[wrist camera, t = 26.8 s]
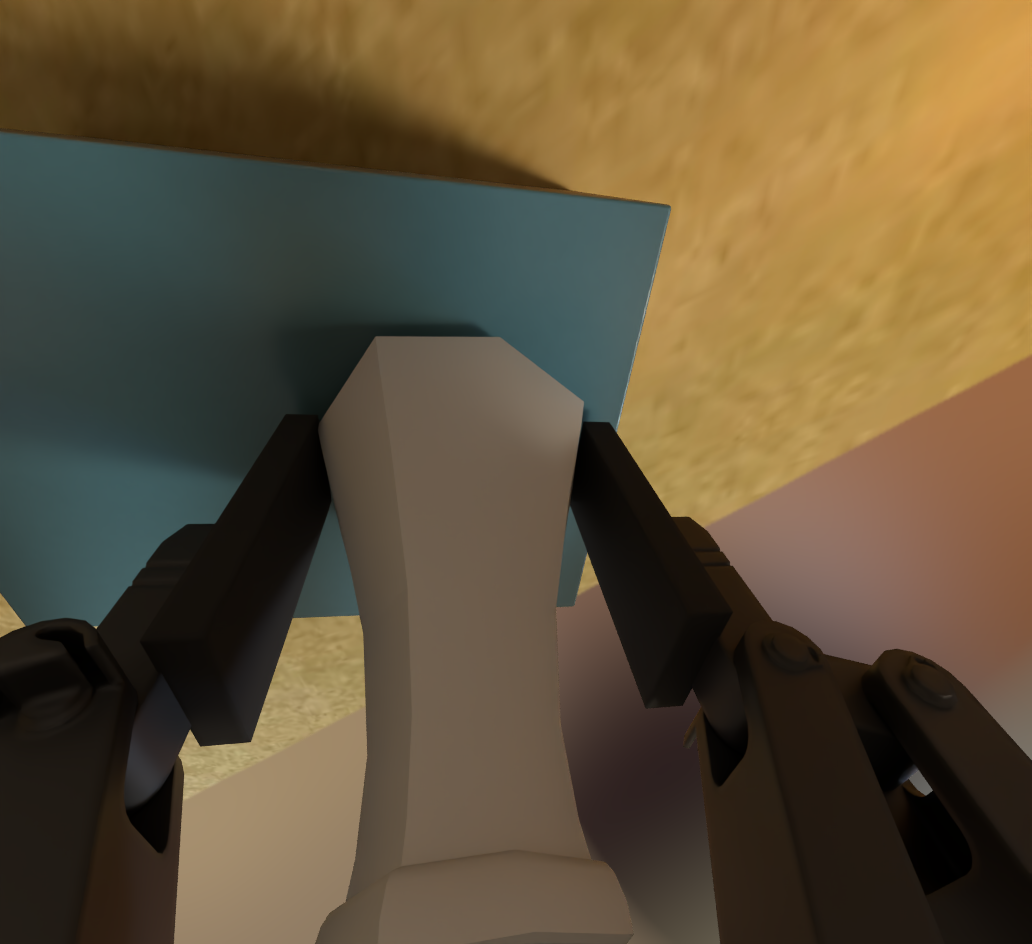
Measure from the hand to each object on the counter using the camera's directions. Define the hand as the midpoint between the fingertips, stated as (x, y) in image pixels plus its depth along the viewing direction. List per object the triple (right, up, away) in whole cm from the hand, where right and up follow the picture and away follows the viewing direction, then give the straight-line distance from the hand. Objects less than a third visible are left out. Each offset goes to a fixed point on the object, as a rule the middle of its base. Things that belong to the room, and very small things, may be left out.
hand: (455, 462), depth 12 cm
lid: (-5, +1, 0) cm, 5 cm away
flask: (0, 0, 0) cm, 0 cm away
